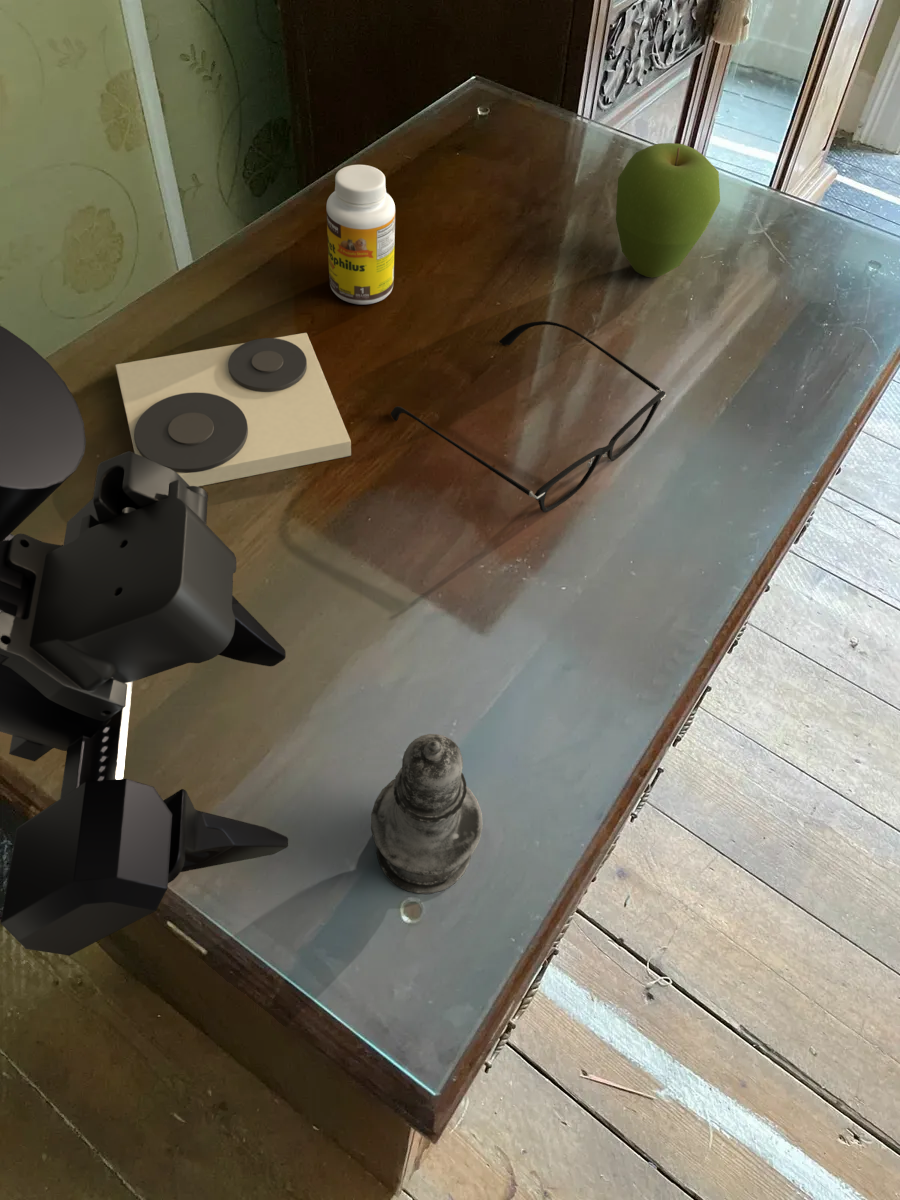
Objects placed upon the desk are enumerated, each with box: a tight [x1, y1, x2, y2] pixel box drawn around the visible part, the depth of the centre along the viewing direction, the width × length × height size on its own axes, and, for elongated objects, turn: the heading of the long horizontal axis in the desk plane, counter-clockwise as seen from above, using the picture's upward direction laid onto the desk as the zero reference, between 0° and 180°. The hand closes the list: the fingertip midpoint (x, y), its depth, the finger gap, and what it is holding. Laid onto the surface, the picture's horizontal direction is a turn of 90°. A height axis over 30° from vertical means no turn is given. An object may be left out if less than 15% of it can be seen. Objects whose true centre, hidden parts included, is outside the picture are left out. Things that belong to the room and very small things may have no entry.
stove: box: [114, 332, 352, 487], centre depth 72 cm, size 15×13×2 cm
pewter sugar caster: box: [370, 733, 484, 895], centre depth 48 cm, size 6×6×12 cm
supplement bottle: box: [325, 164, 396, 306], centre depth 79 cm, size 6×6×10 cm
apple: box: [615, 142, 721, 279], centre depth 83 cm, size 9×8×12 cm
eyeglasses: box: [390, 320, 667, 513], centre depth 72 cm, size 16×16×4 cm
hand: (280, 746), depth 42 cm, fingers open, 9 cm apart
